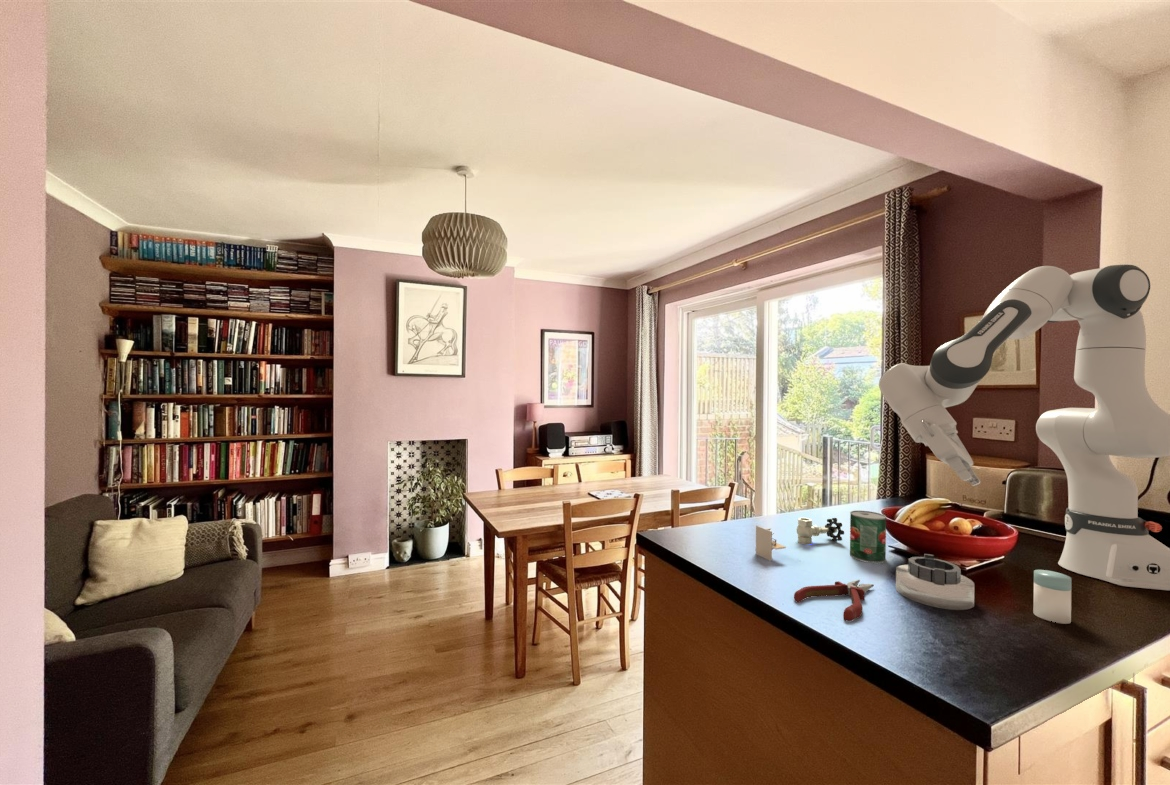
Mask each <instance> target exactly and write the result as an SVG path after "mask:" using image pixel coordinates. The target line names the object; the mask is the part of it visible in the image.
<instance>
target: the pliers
mask: <svg viewBox="0 0 1170 785" xmlns="http://www.w3.org/2000/svg"><path fill="white" fill-rule="evenodd" d="M860 581H861V580H860V579H856V580H852V581H849V582H847V584H846V583H843V582H841V581H840V580H839V581H835V582H834V584H825V585H811V586H805V587H802V588H800V589H799V590H796V591H795V592H794V595H793V599H794V602H796V601H797V602H796V603H800V602H802V601H804V600H806V599H808V598H807V597H809V598H812V597H811V596H817V597H834V596H835V595H838V596H850V600H851V605H849V606H847V607H845V609H844V610H843V620H844V621H846V620H847V621H846V622H852V621H854V620H857V619H859V618H861V616H862V614H863V603H862V601H865V600H866V599H865V598H866V597H865V594H866V592H868V591H869V590H871V589H872V588H873V587H874V585H875V584H871V583H861V584H859V583H860ZM826 595H827V596H826ZM805 598H806V599H805ZM803 599H804V600H803ZM801 600H802V601H801ZM799 601H800V602H799Z"/></svg>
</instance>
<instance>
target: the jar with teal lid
mask: <svg viewBox="0 0 1170 785" xmlns="http://www.w3.org/2000/svg"><path fill="white" fill-rule="evenodd" d="M1032 606H1033V610H1032V612H1033V615H1035V616H1036V617H1038V618H1039V619H1042V620H1046V621H1048V622H1051V621H1052V622H1051V623H1055V622H1056V624H1063V625H1064V624H1065V625H1067V624H1071V622H1072V577H1071V576H1069V575H1067V574H1064V573H1062V572H1061V573H1060V572H1057V571H1053V570H1048V569H1045V570H1044V569H1035V570H1033V604H1032Z"/></svg>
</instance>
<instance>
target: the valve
mask: <svg viewBox="0 0 1170 785" xmlns="http://www.w3.org/2000/svg"><path fill="white" fill-rule="evenodd" d="M797 521H798V522H797V526H796V533H797V543H799V544H802V545H812V544H813V543H812V540H813V539H812V537H818V536H820V534H822V535H823V534H826V536H827V537H830V538H831V541H832V542H838V541H839V542H840V541H843V537H842V536H841V535H845V530H843V529H841V527H843V524H842V522H838V518H837V517H832V518H827V519H826V521H827V523H826V524H825V525H824V526H818V525H817V524H813V520H812V519H811V518H807V517H798V518H797ZM833 525H834V526H833ZM835 533H837V534H836V535H835Z"/></svg>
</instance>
